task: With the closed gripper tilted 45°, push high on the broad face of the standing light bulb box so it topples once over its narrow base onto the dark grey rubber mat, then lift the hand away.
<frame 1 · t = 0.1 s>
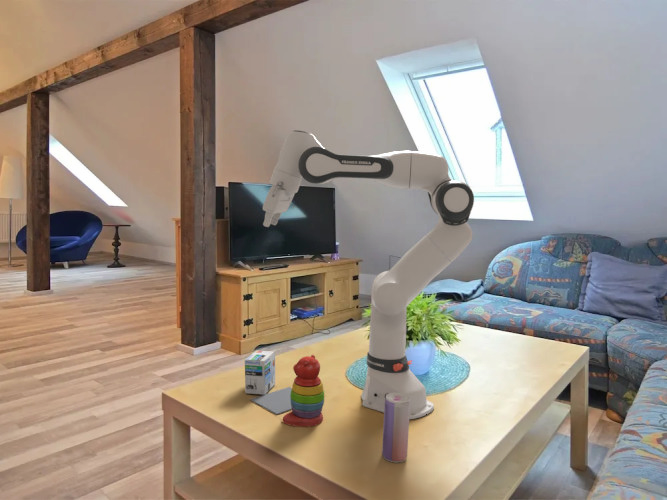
hand: (269, 225, 152), 52 cm above the table, tool tilted 20°, fingers open, 8 cm apart
light bulb box: (260, 389, 158), on the table, touching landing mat
beverage can: (394, 458, 119), on the table
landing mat: (283, 400, 150), on the table
stacking bear: (305, 419, 138), on the table
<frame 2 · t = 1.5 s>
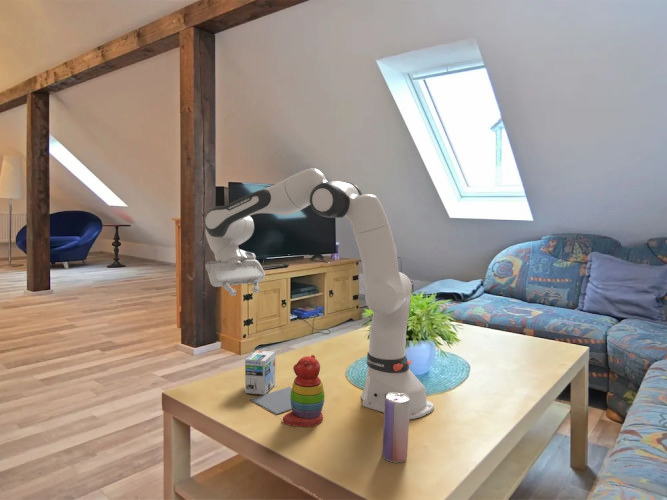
hand: (245, 293, 166), 28 cm above the table, tool tilted 45°, fingers open, 8 cm apart
nothing on the table moved.
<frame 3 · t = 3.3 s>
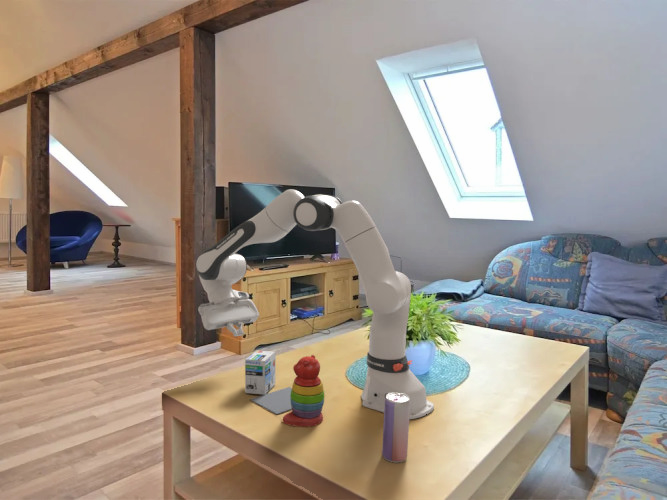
hand: (239, 335, 165), 15 cm above the table, tool tilted 45°, fingers closed
nothing on the table moved.
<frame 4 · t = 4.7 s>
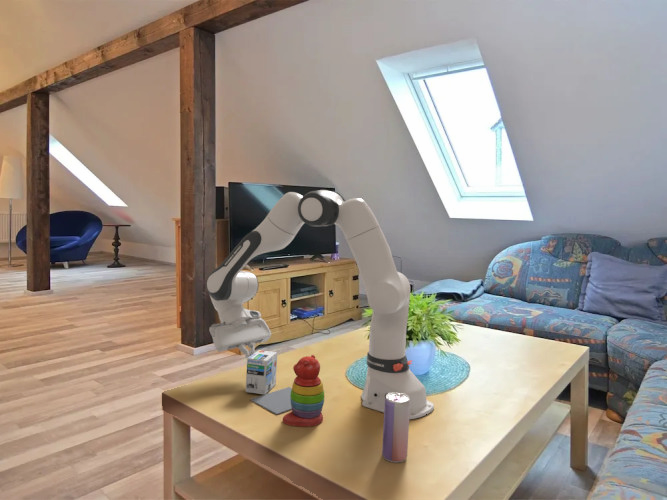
hand: (251, 356, 161), 9 cm above the table, tool tilted 45°, fingers closed
light bulb box: (260, 388, 158), on the table, touching gripper, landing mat
everything else where it was.
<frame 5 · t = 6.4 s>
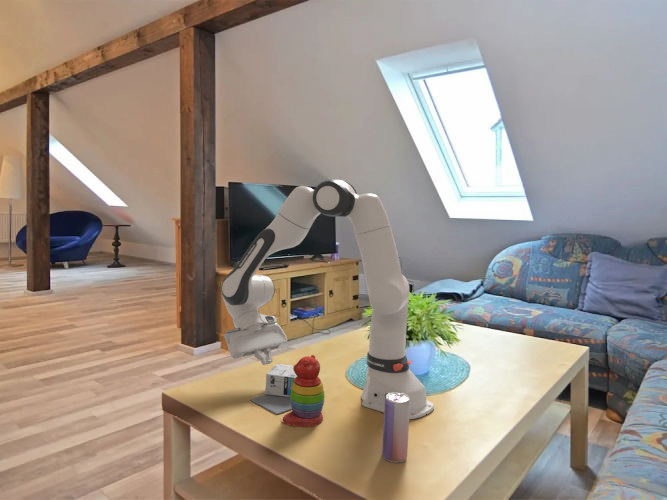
hand: (267, 363, 154), 9 cm above the table, tool tilted 45°, fingers closed
light bulb box: (270, 378, 157), point 4 cm above the table, touching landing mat
everything else where it was.
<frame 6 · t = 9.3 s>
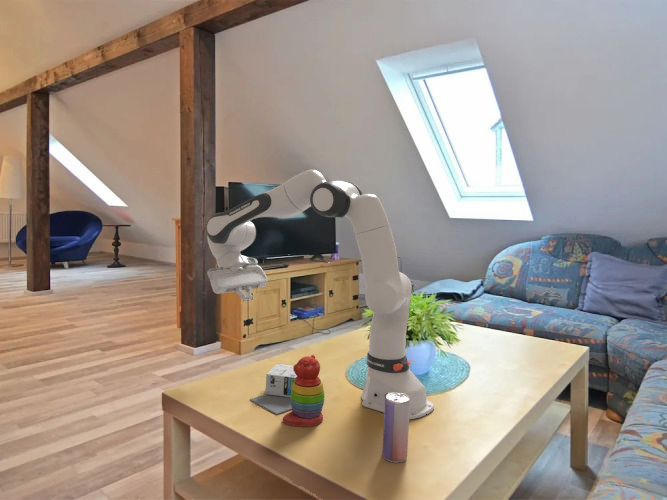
hand: (248, 299, 166), 26 cm above the table, tool tilted 45°, fingers closed
nothing on the table moved.
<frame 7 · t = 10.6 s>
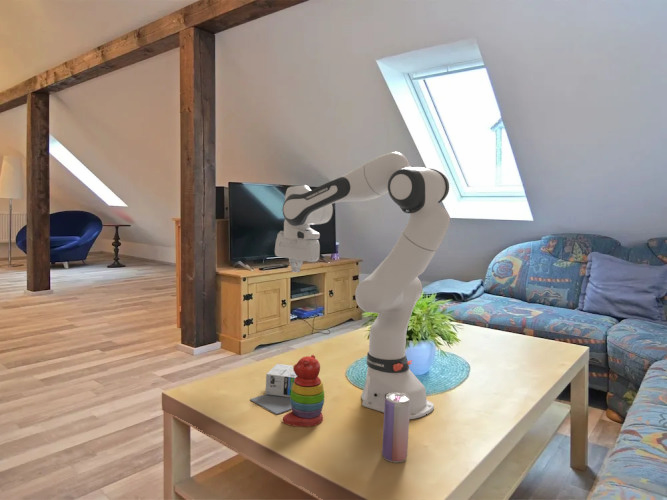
hand: (295, 272, 173), 35 cm above the table, tool pointing down, fingers closed
nothing on the table moved.
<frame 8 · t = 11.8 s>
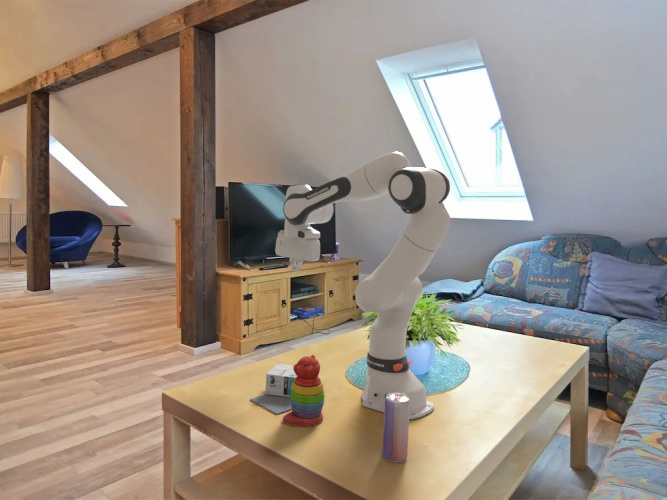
hand: (296, 271, 173), 35 cm above the table, tool pointing down, fingers closed
nothing on the table moved.
at the end: light bulb box tilted 91°; light bulb box inside the target area (3.3 cm from its centre), point 3.9 cm above the table; light bulb box touching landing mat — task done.
